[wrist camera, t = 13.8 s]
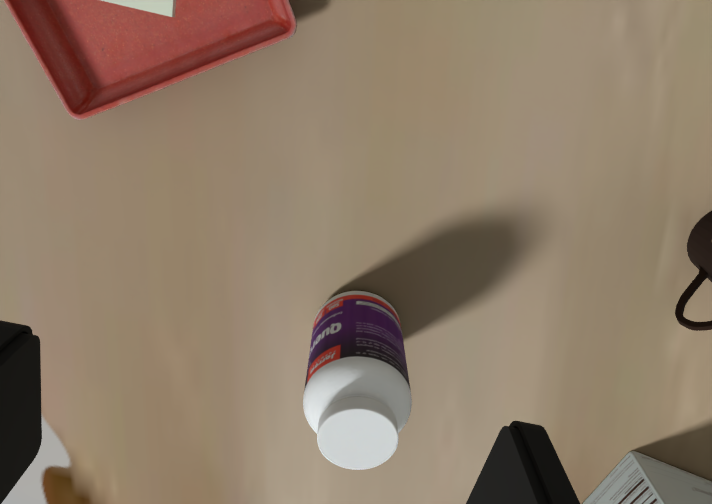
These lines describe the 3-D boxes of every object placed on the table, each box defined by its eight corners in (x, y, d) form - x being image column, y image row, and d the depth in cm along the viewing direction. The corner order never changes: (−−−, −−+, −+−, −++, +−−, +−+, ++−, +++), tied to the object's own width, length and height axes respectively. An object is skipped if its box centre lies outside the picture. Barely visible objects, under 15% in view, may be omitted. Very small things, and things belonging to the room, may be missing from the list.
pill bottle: (331, 273, 45) (322, 376, 32) (414, 302, 46) (437, 413, 33) (302, 344, 48) (281, 464, 35) (379, 370, 49) (388, 495, 36)
